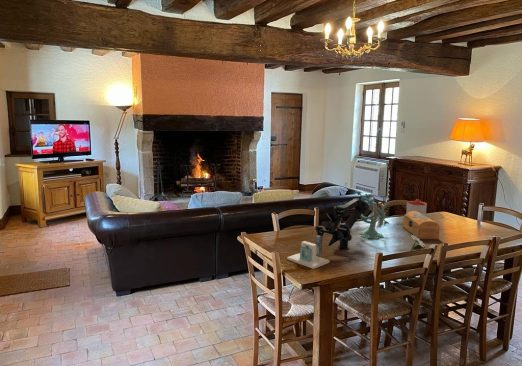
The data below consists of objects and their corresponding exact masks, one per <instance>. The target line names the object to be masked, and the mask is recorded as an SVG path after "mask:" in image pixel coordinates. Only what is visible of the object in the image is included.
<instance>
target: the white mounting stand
mask: <svg viewBox="0 0 522 366" xmlns="http://www.w3.org/2000/svg"><path fill="white" fill-rule="evenodd" d="M300 246H301V247H306V248H307V246H309V249H312V252H311V261H306V260H303V259H300V252H299V253H295V254H292V255H290V256H286V257H287V261H290V262H293V263H296V264H299V265H302V266H305V267H307V268H310V269H312V270H314V269H317V268H319V267H321V266H324V265H327V264H330V259H327V258H324V257H321V256H319V255H316V244H314V242H313V243H312V242H309V241H306V240H303V241H301V245H300ZM304 256H306V257H307V252H306V251H304Z"/></svg>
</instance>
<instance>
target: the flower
mask: <svg viewBox="0 0 522 366" xmlns="http://www.w3.org/2000/svg"><path fill="white" fill-rule="evenodd" d="M410 237H411V238H412V239H413V241H414V243H413V245H412V246H413V247H415V245H416V244H418V245H419V246H421V247H424V246H426V245H425V243H423V241H422V240H421V239H419V238H417V237H416V236H414V234H413V235H412V234H411V233H410ZM423 245H424V246H423ZM412 250H413V248H412V249H410V251H411V252H412ZM410 251H409V252H410Z"/></svg>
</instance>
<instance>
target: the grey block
mask: <svg viewBox="0 0 522 366" xmlns="http://www.w3.org/2000/svg"><path fill="white" fill-rule="evenodd" d="M314 240H315V242H313V244H316V256H321V255H323V251H322V250H323V236H319V235H318V236H317V235H315V239H314ZM307 248H309V246H307Z"/></svg>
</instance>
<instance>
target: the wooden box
mask: <svg viewBox="0 0 522 366" xmlns="http://www.w3.org/2000/svg"><path fill="white" fill-rule="evenodd" d="M406 213H407V212H406ZM402 229H404V230H406V231H407V232H408V233H409V234H410V235H411V234H414V236H416V237H417V238H419V239H420V240H439V237H440V224H438V222H436V221H435V220H432V219H431V218H430V217H428V216H427V215H426V216H424V215H423V214H421V213H419V212H416V211H411V212H408V213H407V214H404V215H403V222H402Z"/></svg>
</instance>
